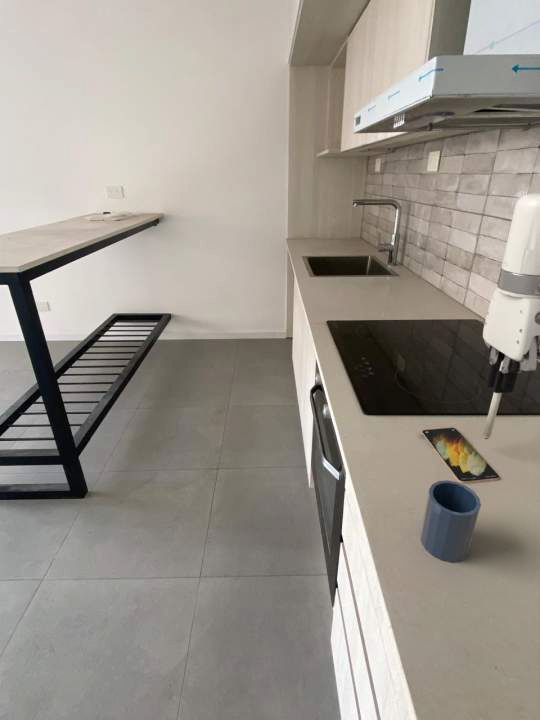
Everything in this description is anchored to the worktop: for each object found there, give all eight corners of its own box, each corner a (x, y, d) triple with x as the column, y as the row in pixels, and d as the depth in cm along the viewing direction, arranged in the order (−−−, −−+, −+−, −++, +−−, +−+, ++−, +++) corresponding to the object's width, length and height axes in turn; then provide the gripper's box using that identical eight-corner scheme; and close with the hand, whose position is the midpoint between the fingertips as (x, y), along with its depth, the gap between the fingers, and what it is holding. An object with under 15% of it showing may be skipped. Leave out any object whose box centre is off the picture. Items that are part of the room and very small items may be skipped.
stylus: (487, 436, 72) (507, 358, 65) (490, 440, 71) (512, 361, 64) (480, 437, 72) (500, 359, 65) (484, 441, 71) (505, 362, 64)
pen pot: (453, 525, 59) (464, 478, 55) (476, 562, 53) (490, 513, 49) (413, 529, 58) (421, 482, 54) (432, 566, 53) (442, 517, 49)
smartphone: (454, 427, 80) (501, 477, 66) (454, 429, 80) (500, 481, 66) (420, 429, 79) (460, 481, 66) (420, 432, 79) (459, 484, 66)
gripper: (592, 295, 53) (553, 412, 60) (516, 270, 66) (492, 367, 74) (539, 298, 52) (506, 415, 60) (474, 272, 66) (454, 370, 74)
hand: (499, 388), depth 67 cm, fingers closed on stylus, 1 cm apart
